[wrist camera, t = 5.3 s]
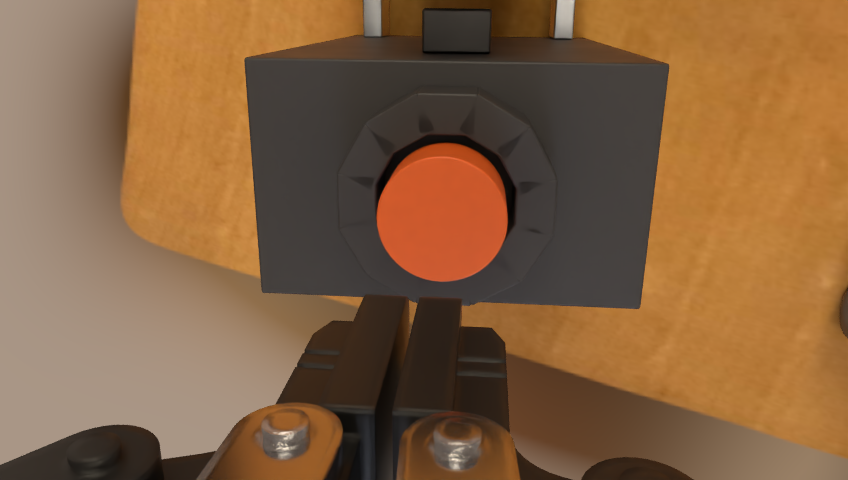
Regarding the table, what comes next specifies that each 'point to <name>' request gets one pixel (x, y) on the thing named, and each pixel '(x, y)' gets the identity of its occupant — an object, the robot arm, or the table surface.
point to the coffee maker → (467, 125)
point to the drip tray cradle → (461, 26)
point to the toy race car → (844, 314)
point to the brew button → (443, 212)
